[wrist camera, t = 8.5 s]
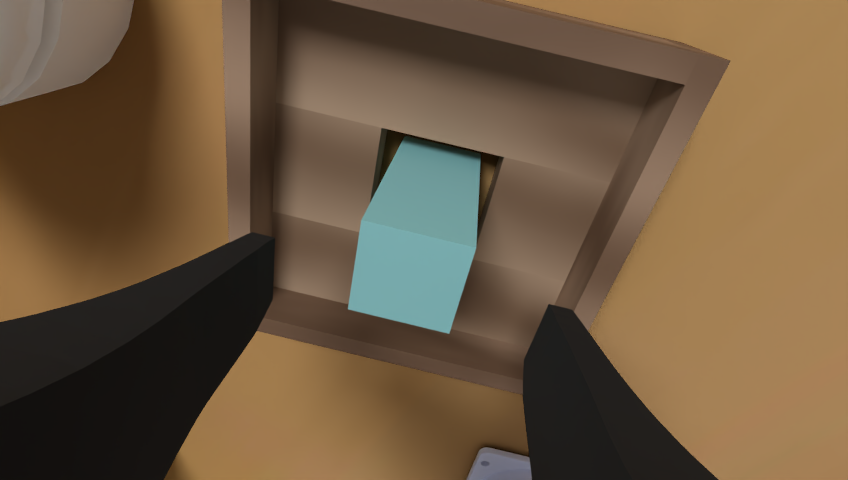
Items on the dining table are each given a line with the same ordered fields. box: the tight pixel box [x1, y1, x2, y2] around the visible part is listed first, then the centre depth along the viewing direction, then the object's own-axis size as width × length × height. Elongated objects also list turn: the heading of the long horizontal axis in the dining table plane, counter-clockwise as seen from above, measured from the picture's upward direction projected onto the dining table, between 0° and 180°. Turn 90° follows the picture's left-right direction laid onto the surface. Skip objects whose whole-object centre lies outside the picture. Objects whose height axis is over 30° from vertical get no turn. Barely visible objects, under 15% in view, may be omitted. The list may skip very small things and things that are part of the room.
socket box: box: [222, 0, 730, 395], centre depth 17 cm, size 14×14×4 cm
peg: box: [348, 136, 481, 334], centre depth 15 cm, size 3×3×7 cm
